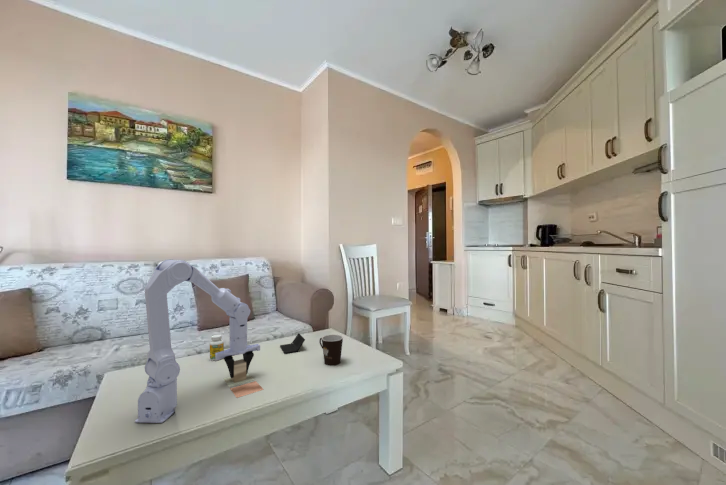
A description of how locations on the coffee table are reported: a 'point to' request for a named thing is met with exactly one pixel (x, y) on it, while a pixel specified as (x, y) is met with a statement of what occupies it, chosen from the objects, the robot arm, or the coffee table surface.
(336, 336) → the coffee mug
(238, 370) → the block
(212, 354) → the supplement bottle
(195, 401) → the coffee table surface
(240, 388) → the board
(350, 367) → the coffee table surface
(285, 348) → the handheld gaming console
